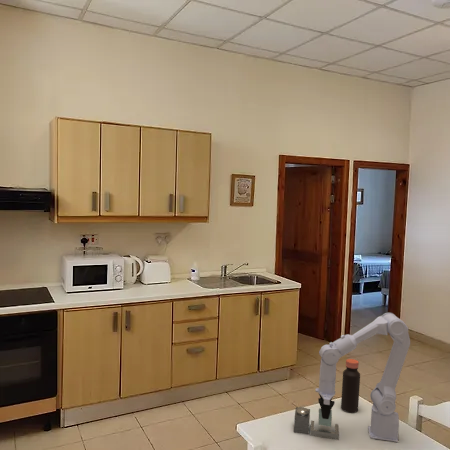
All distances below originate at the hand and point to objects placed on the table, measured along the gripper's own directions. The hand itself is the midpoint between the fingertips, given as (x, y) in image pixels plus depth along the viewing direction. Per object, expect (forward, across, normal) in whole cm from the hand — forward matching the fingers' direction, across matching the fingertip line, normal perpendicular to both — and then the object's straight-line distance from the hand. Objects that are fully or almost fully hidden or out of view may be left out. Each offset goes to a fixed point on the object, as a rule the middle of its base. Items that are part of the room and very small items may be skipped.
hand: (325, 415), depth 163 cm
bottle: (+6, -21, +10) cm, 24 cm away
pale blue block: (+3, 0, 0) cm, 3 cm away
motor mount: (+6, 0, -3) cm, 7 cm away
